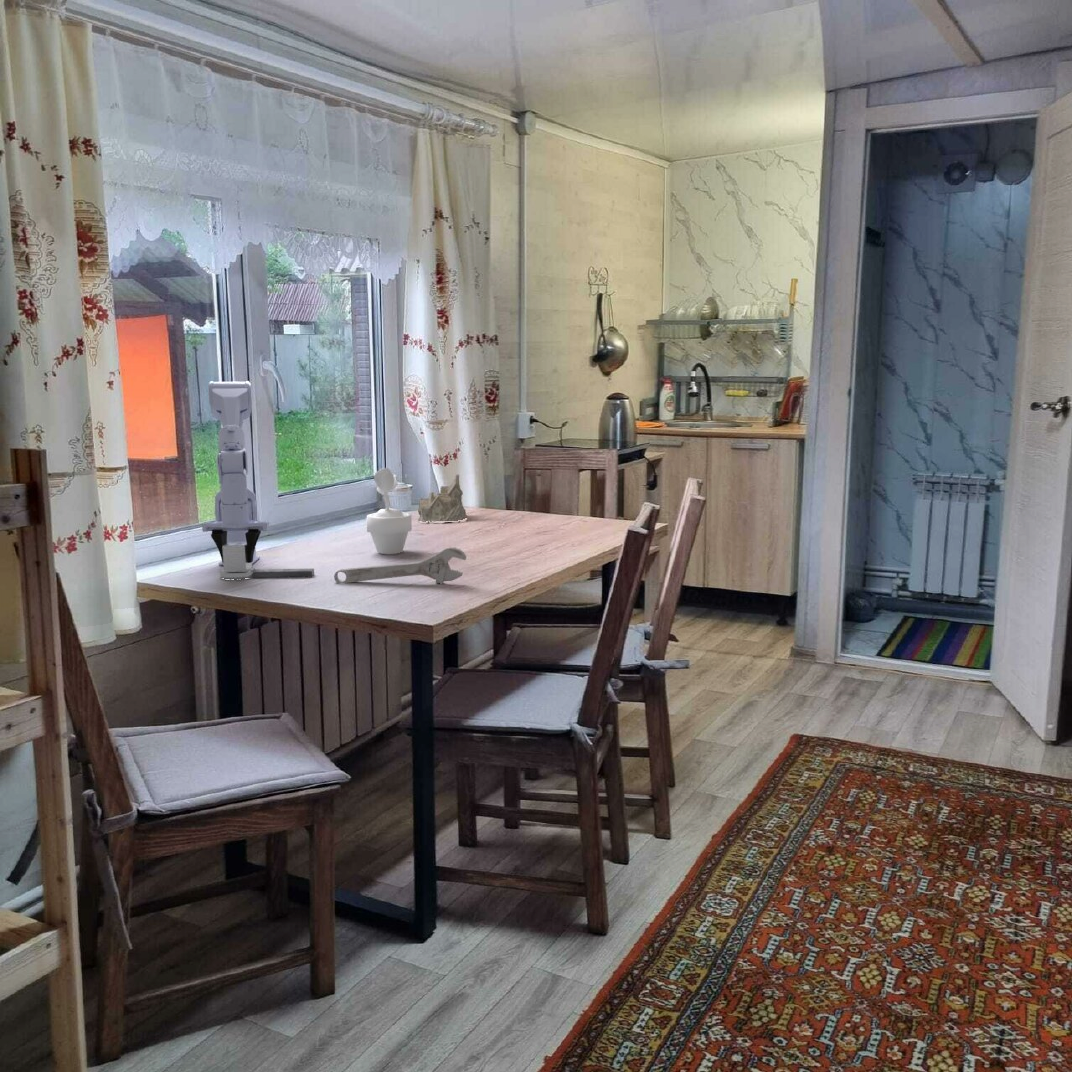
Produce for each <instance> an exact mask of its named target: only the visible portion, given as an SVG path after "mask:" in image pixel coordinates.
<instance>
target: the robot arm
mask: <svg viewBox="0 0 1072 1072" xmlns="http://www.w3.org/2000/svg"><path fill="white" fill-rule="evenodd" d="M207 385H208V386H207V387H208V401H209V402H208V403H209V407H210V413H211V417H212V418H214V419H215V420H218V421H219V422H220V425H221V428H220V429H219V431H218V432H217V433H218V452H217V453H216V467H217V469H216V470H217V474H218V481H219V482H218V483H219V484H220V490H219V491H217V492H216V494H215V496H214V501H215V502H214V517H215V518H214V519H215V521H204V522H202V524H201V527H202V532H203V533H205V532H211V534H210V536H211V539H212V541H213V542H214V544H215V546H216V547H217V550H218V552H219V555H220V557H221V561H220V562H218V566H224V564H223V549H222V546H223V545H225V544H226V543H228V542H247V561H248V563H251V562H252V565H253V564H254V563H255V562H257V561H259V559H260V558H261V556H260V555H257V553H256V551H257V549H256V548H257V543H258V540H259V537H260V535H261V532H262V531H263V532H268V531H269V530H270V525H269V524H270V523H269V521H266V520H265V521H260V520H258V508H257V506H258V505H257V498H256V497H257V496H256V494H255V492H254V491H253V490H251V489H250V488H249V487H248V485H247V484H248V482H247V475H248V472H249V469H248V468H249V466H248V453H247V451H246V444H245V443H246V442H245V441H246V440H245V432H244V430H243V428H242V427H243V423H244V420H246V419H249V418H250V417H251V413H252V389H251V387H252V385H251V382H250V381H249V380H246V381H209V383H208V384H207ZM244 470H245V471H246V472H245V473H246V474H245V473H244Z"/></svg>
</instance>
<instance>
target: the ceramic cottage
mask: <svg viewBox="0 0 1072 1072" xmlns="http://www.w3.org/2000/svg"><path fill="white" fill-rule="evenodd" d="M463 494H464V493H463V491H462V490H461V486H460V474H455V476H454V479H452V481H451V483H450V484H449V485H447V486H444V485H441V486H440V491H439V493H438V494H436V493H435V492H429V494H428V497H427V498H424V497H423V498H422V497H421V498H419V500H418V508H417V510H418V511H417V513H418V515H419V517H418V518H417V522H418V521H422V522H426V521H428V522H429V521H430V522H432V521H458V520H463V519H465V518H467V517H468V515H467V513H466V509H465V507H464V506H463V505H464V504H463V502H462V496H463Z"/></svg>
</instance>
